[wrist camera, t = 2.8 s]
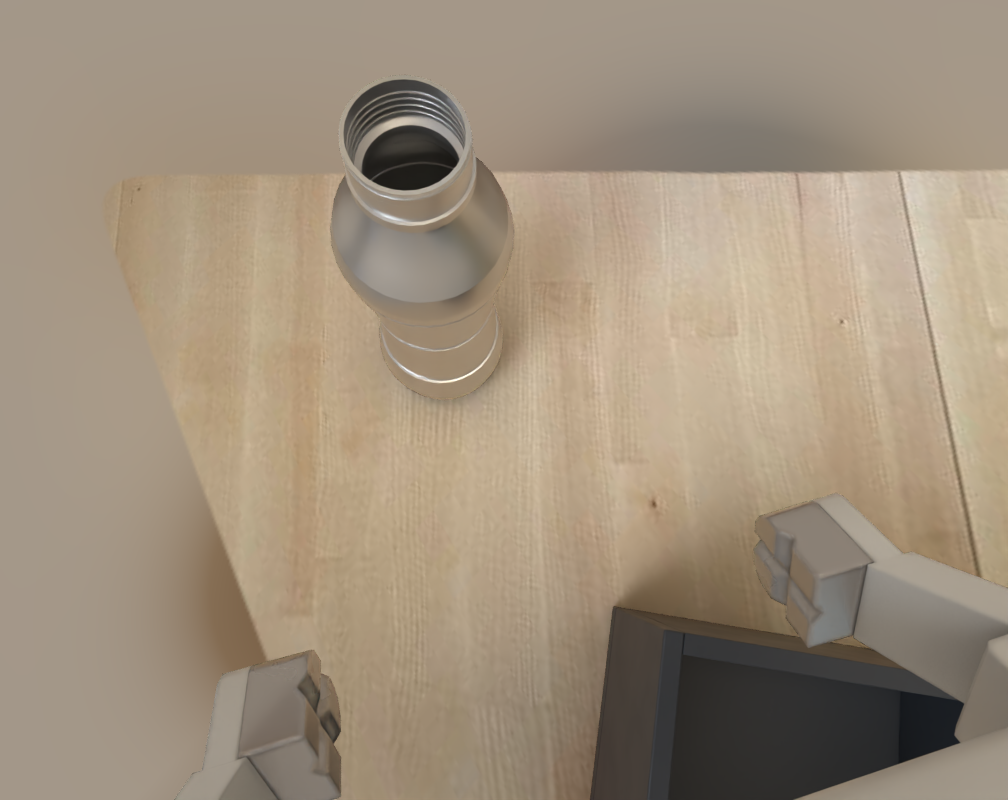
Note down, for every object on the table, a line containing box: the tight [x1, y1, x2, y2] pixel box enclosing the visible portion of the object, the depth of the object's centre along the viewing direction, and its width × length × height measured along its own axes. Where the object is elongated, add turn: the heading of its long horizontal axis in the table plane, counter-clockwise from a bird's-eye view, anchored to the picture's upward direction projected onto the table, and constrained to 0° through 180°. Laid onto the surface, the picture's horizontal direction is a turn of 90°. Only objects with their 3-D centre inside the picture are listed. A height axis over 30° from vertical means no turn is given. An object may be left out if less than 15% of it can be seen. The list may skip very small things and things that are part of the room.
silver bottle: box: [330, 75, 514, 400], centre depth 27 cm, size 6×7×20 cm
